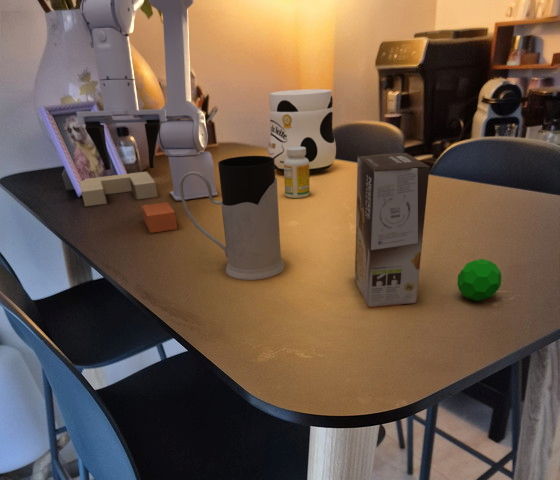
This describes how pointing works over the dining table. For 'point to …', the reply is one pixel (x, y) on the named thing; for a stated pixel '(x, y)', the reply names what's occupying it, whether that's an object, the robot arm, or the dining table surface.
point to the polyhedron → (479, 280)
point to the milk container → (302, 126)
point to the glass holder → (247, 216)
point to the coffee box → (389, 227)
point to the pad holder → (117, 187)
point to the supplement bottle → (296, 173)
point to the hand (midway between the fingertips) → (130, 168)
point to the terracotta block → (159, 217)
